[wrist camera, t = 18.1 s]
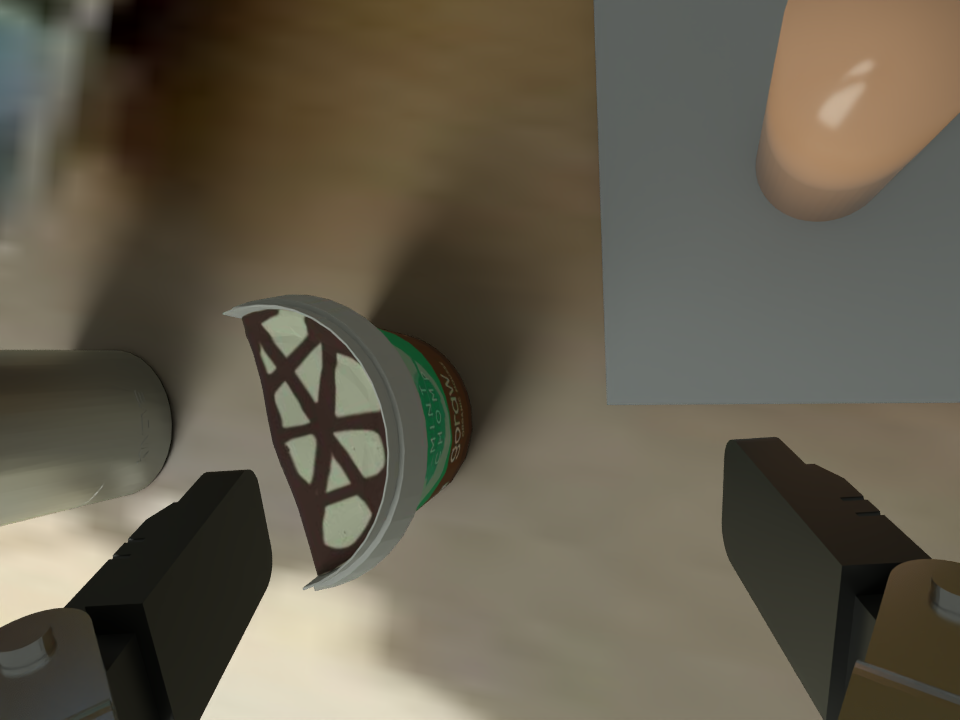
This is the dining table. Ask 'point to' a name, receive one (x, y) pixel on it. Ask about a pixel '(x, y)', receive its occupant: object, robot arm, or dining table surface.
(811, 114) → the peach cylinder
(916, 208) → the charcoal board
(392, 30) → the dining table surface
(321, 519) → the food container
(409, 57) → the dining table surface
